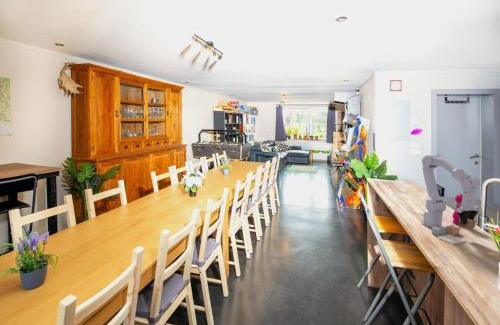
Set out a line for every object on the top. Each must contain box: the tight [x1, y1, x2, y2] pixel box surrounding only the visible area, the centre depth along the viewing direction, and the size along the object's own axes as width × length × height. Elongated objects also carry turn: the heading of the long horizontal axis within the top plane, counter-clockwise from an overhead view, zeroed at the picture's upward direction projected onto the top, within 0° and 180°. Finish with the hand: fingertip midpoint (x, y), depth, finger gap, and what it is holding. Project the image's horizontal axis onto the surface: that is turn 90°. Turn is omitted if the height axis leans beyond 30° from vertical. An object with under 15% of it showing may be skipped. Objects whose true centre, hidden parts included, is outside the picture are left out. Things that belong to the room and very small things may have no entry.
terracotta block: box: [445, 224, 461, 236], centre depth 165 cm, size 6×4×4 cm, turn 112°
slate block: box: [431, 226, 447, 237], centre depth 164 cm, size 6×4×4 cm, turn 107°
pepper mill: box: [451, 192, 463, 226], centre depth 178 cm, size 7×7×20 cm
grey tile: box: [437, 234, 466, 245], centre depth 156 cm, size 9×9×1 cm
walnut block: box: [458, 218, 476, 229], centre depth 157 cm, size 6×4×4 cm, turn 19°
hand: (466, 223), depth 157 cm, fingers closed on walnut block, 4 cm apart
